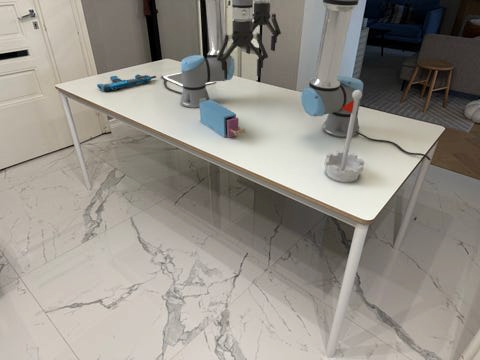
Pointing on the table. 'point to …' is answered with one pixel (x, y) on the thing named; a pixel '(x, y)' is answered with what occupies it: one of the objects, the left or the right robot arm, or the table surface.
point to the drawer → (233, 127)
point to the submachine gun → (124, 82)
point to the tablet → (178, 79)
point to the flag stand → (346, 151)
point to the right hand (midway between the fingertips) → (260, 51)
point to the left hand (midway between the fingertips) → (242, 77)
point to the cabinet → (215, 116)
